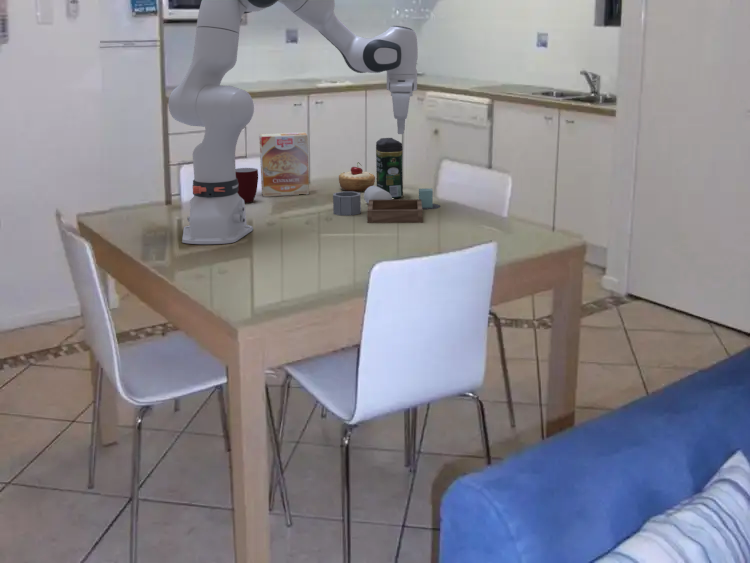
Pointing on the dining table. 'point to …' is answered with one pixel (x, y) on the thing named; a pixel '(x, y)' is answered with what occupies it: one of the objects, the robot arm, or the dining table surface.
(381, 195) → the white rounded lump
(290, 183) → the coffeecake box
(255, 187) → the mug
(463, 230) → the dining table surface
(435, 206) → the coaster
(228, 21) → the robot arm
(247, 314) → the dining table surface
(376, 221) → the walnut box
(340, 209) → the stoneware cup
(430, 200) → the block
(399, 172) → the coffee jar
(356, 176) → the pastry
